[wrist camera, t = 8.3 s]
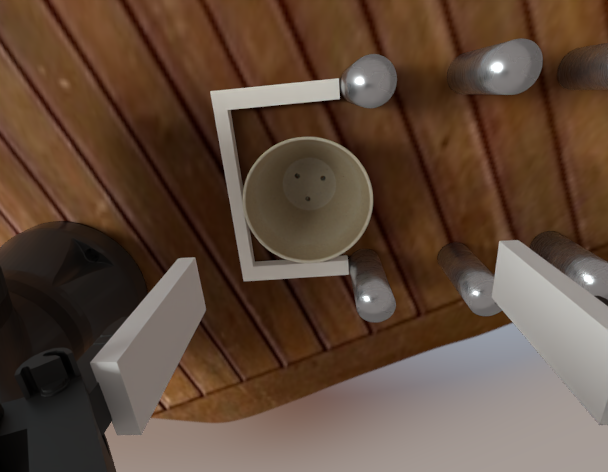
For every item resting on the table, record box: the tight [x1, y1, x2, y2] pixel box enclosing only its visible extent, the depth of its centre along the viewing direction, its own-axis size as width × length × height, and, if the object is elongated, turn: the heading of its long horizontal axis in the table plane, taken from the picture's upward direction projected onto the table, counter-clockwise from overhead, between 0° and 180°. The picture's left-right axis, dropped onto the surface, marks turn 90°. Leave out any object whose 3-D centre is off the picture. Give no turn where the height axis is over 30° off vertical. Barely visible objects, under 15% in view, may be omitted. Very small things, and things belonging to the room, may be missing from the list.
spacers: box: [340, 39, 608, 322], centre depth 29 cm, size 21×20×8 cm
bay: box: [210, 78, 349, 281], centre depth 33 cm, size 11×18×1 cm, turn 5°
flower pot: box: [243, 137, 373, 263], centre depth 30 cm, size 10×10×7 cm
